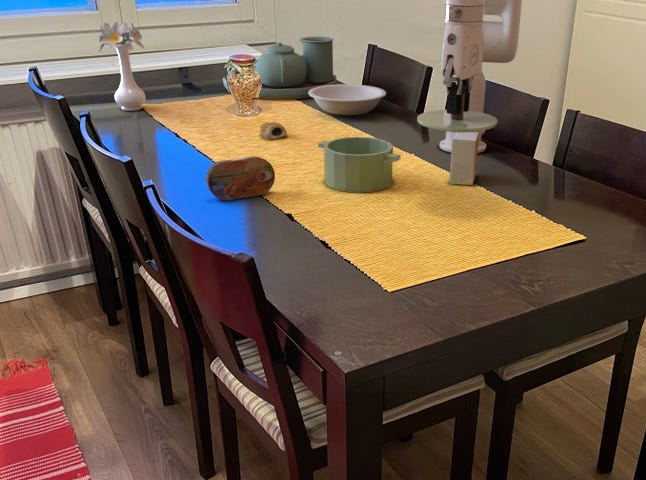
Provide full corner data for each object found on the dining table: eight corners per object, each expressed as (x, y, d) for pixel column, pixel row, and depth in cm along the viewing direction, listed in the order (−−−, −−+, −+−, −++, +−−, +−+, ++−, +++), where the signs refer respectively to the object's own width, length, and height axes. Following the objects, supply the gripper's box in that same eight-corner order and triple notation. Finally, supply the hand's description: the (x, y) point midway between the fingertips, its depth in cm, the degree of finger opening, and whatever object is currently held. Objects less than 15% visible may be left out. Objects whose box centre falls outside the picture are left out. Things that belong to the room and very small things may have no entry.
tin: (210, 203, 160) (206, 164, 156) (206, 198, 162) (202, 160, 158) (276, 193, 166) (274, 156, 162) (271, 189, 169) (269, 152, 164)
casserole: (339, 166, 185) (339, 131, 180) (413, 180, 176) (414, 145, 171) (302, 182, 173) (301, 146, 169) (379, 199, 164) (380, 161, 160)
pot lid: (439, 111, 164) (441, 82, 161) (509, 122, 157) (512, 91, 154) (402, 127, 152) (403, 95, 148) (476, 139, 144) (479, 106, 141)
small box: (472, 186, 173) (476, 140, 168) (449, 184, 174) (451, 138, 169) (476, 175, 180) (479, 131, 174) (453, 174, 181) (456, 130, 175)
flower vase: (147, 100, 243) (135, 17, 230) (156, 113, 228) (143, 24, 215) (105, 103, 238) (91, 18, 225) (112, 116, 224) (96, 26, 211)
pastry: (255, 132, 211) (254, 118, 209) (277, 130, 214) (276, 116, 212) (266, 140, 204) (265, 126, 202) (289, 138, 206) (289, 124, 205)
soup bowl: (400, 112, 235) (400, 90, 232) (357, 127, 218) (357, 104, 214) (338, 101, 246) (338, 81, 242) (293, 115, 228) (292, 93, 225)
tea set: (304, 74, 286) (303, 27, 277) (357, 93, 257) (357, 42, 249) (206, 83, 267) (201, 34, 259) (251, 105, 239) (247, 51, 230)
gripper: (463, 20, 136) (456, 122, 145) (498, 12, 148) (490, 107, 157) (427, 17, 139) (423, 117, 149) (464, 9, 151) (458, 103, 161)
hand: (457, 111), depth 153 cm, fingers closed on pot lid, 2 cm apart
